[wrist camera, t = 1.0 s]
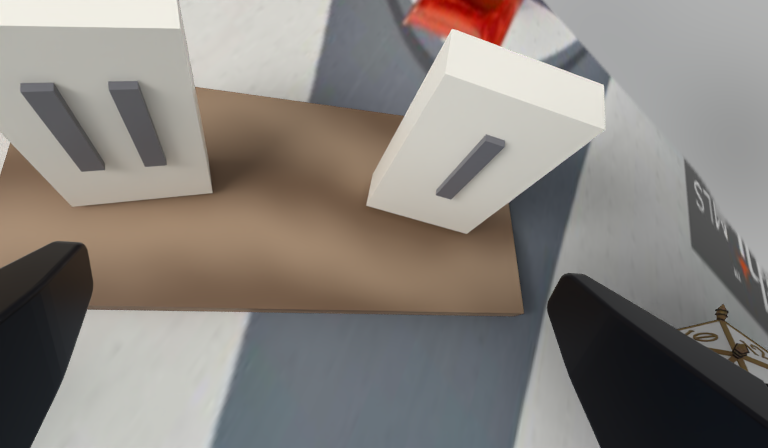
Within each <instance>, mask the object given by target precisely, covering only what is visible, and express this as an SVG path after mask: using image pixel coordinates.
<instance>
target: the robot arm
mask: <svg viewBox="0 0 768 448" xmlns="http://www.w3.org/2000/svg"><path fill="white" fill-rule="evenodd" d="M92 292H93V277H92V271H91V265H90V260H89V254H88V249H87V247H86V245H84V244H83V243H81V242H68V241H54V242H52V243H49V244H47V245H45V246H43V247H41V248H39V249H37V250H35V251H33V252H31V253H29V254H27V255H25V256H23V257H21V258H19V259H17V260H16V261H14V262H12V263H10V264H8V265H6V266H4V267H2V268H0V448H30V447H31V445H32V443H33V441H34V439H35V437H36V435H37V433H38V431H39V429H40V427H41V425H42V423H43V421H44V418H45V416H46V414H47V412H48V410H49V408H50V406H51V404H52V402H53V400H54V398H55V396H56V394H57V391H58V389H59V387H60V385H61V382H62V380H63V378H64V375H65V372H66V370H67V367H68V364H69V361H70V358H71V355H72V352H73V350H74V347H75V344H76V341H77V338H78V335H79V332H80V329H81V326H82V323H83V320H84V317H85V314H86V311H87V308H88V305H89V302H90V299H91V296H92ZM547 311H548V315H549V318H550V321H551V324H552V327H553V330H554V333H555V336H556V339H557V342H558V345H559V348H560V351H561V354H562V357H563V360H564V363H565V366H566V368H567V371H568V374H569V377H570V379H571V382H572V384H573V386H574V389H575V391H576V393H577V395H578V398H579V400H580V402H581V404H582V407H583V409H584V411H585V413H586V416H587V418H588V420H589V422H590V425H591V427H592V429H593V431H594V434H595V436H596V438H597V441H598V443H599V445H600V447H601V448H768V383H764V381H763V380H761V379H760V378H758V377H756V376H755V375H753V374H751V373H750V372H748V371H746V370H744V369H743V368H741V367H739V366H738V365H736V364H734V363H733V362H731V361H729V360H728V359H726V358H724V357H723V356H721V355H719V354H718V353H716V352H714V351H713V350H711V349H709V348H707V347H706V346H704V345H702V344H701V343H699V342H697V341H696V340H694V339H692V338H691V337H689V336H687V335H686V334H684V333H682V332H681V331H679V330H677V329H675V328H674V327H672V326H670V325H669V324H667V323H665V322H664V321H662V320H660V319H659V318H657V317H655V316H654V315H652V314H650V313H649V312H647V311H645V310H643V309H642V308H640V307H638V306H637V305H635V304H633V303H632V302H630V301H628V300H627V299H625V298H623V297H622V296H620V295H618V294H617V293H615V292H613V291H612V290H610V289H608V288H606V287H605V286H603V285H601V284H600V283H598V282H596V281H595V280H593V279H591V278H590V277H588V276H586V275H584V274H575V273H567V274H564V275H563V276H562V277H561V278H560V280H559V282H558V284H557V286H556V287H555V289H554V291H553V293H552V295H551V297H550V299H549V301H548V304H547Z"/></svg>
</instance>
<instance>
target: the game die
mask: <svg viewBox="0 0 768 448" xmlns="http://www.w3.org/2000/svg"><path fill="white" fill-rule="evenodd" d="M715 311H717V312H716V314H715V315H716V316H717V320H714V321H710V322H706V323H701V324H697V325H693V326H689V327H685V328H680V329H677V330H679V331H681V332H682V333H684V334H686V335H687V336H689V337H691V338H692V339H694V340H696V341H697V342H699V343H701V344H702V345H704V346H706V347H707V348H709V349H711V350H713V351H714V352H716V353H718V354H719V355H721V356H723V357H724V358H726V359H728V360H729V361H731V362H733V363H734V364H736V365H738V366H739V367H741V368H743V369H744V370H746V371H748V372H750V373H751V374H753V375H755V376H756V377H758V378H760V379H761V380H763V381H764V383H768V351H767V350H765V349H764V348H763V347H761V346H760V345H758V344H757V343H755V342H754V341H753V340H751V339H750V338H748V337H747V336H745V335H744V334H743V333H741V332H740V331H738V330H737V329H735V328H734V327H733V326H731V325H730V324H728V323H727V322H726V321H725V319H726V317H728V316H727V313H728V311H727V310H726V308H725V306H724V304H723V305H722V306H720V307H719V308H718V309H716V310H715Z"/></svg>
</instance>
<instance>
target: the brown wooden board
mask: <svg viewBox="0 0 768 448" xmlns="http://www.w3.org/2000/svg"><path fill="white" fill-rule="evenodd" d="M195 90H196V95H197V100H198V106H199V111H200V116H201V122H202V127H203V133H204V138H205V143H206V149H207V154H208V160H209V168H210V176H211V184H212V192H213V193H208V194H198V195H188V196H178V197H167V198H157V199H147V200H137V201H126V202H116V203H106V204H96V205H86V206H75V207H72V206H71V205H70V204H69V203H68V202H67V201H66V200H65V199H64V198H63V197H62V196H61V195H60V194H59V193H58V192H57V190H56V189H55V188H54V187H53V186H52V185H51V184H50V183H49V182H48V181H47V180H46V179H45V178H44V177H43V176H42V175H41V174H40V173H39V172H38V171H37V170H36V169H35V168H34V167H33V165H32V164H31V163H30V162H29V161H28V160H27V159H26V158H25V157H24V156H23V155H22V154H21V153H20V152H19V151H18V150H17V149H16V148H15V147H14V146H13V145H12V144H11V143H10V146H9V149H8V152H7V155H6V158H5V162H4V165H3V168H2V171H1V175H0V268H2V267H4V266H6V265H8V264H10V263H12V262H14V261H16V260H17V259H19V258H21V257H23V256H25V255H27V254H29V253H31V252H33V251H35V250H37V249H39V248H41V247H43V246H45V245H47V244H49V243H52V242H54V241H68V242H81V243H83V244H84V245H86V247H87V249H88V254H89V260H90V265H91V271H92V277H93V292H92V296H91V299H90V302H89V305H88V308H87V309H95V310H157V311H219V312H280V313H342V314H404V315H466V316H517V315H521V314H524V309H523V302H522V295H521V288H520V281H519V274H518V267H517V259H516V252H515V245H514V238H513V231H512V224H511V217H510V209H509V203H507V204H506V205H505V206H503V207H502V208H501V209H499V210H498V211H497V212H495V213H494V214H493V215H491V216H490V217H489V218H487V219H486V220H485V221H483V222H482V223H481V224H479V225H478V226H477V227H475V228H474V229H473V230H471V231H470V232H469V233H467V234H465V233H461V232H458V231H454V230H451V229H447V228H444V227H440V226H437V225H433V224H429V223H426V222H422V221H419V220H415V219H412V218H408V217H405V216H401V215H398V214H394V213H390V212H387V211H383V210H380V209H376V208H373V207H369V206H366V204H367V199H368V194H369V189H370V185H371V180H372V175H373V173H374V171H375V169H376V167H377V166H378V164H379V162H380V160H381V158H382V156H383V155H384V153H385V151H386V149H387V147H388V145H389V144H390V142H391V140H392V138H393V136H394V134H395V133H396V131H397V129H398V127H399V125H400V123H401V122H402V120H403V118H404V116H400V115H393V114H386V113H378V112H371V111H364V110H357V109H350V108H342V107H335V106H328V105H321V104H314V103H307V102H299V101H292V100H285V99H278V98H271V97H264V96H256V95H249V94H242V93H235V92H228V91H221V90H213V89H206V88H199V87H195Z"/></svg>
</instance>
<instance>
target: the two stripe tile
mask: <svg viewBox="0 0 768 448" xmlns="http://www.w3.org/2000/svg"><path fill="white" fill-rule="evenodd" d="M0 132H1V133H2V134H3V135H4V136H5V137H6V138H7V139H8V141H9V142H10V143H11V144H12V145H13V146H14V147H15V148H16V149H17V150H18V151H19V152H20V153H21V154H22V155H23V156H24V157H25V158H26V159H27V160H28V161H29V162H30V163H31V164H32V165H33V167H34V168H35V169H36V170H37V171H38V172H39V173H40V174H41V175H42V176H43V177H44V178H45V179H46V180H47V181H48V182H49V183H50V184H51V185H52V186H53V187H54V188H55V189H56V190H57V192H58V193H59V194H60V195H61V196H62V197H63V198H64V199H65V200H66V201H67V202H68V203H69V204H70V205H71V206H72V207H75V206H86V205H96V204H106V203H116V202H126V201H137V200H147V199H157V198H167V197H178V196H188V195H198V194H208V193H213V192H212V184H211V176H210V168H209V160H208V154H207V149H206V143H205V138H204V133H203V127H202V122H201V116H200V111H199V106H198V100H197V95H196V90H195V84H194V79H193V74H192V68H191V63H190V58H189V52H188V47H187V42H186V36H185V31H184V26H183V20H182V15H181V10H180V4H179V0H0Z"/></svg>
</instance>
